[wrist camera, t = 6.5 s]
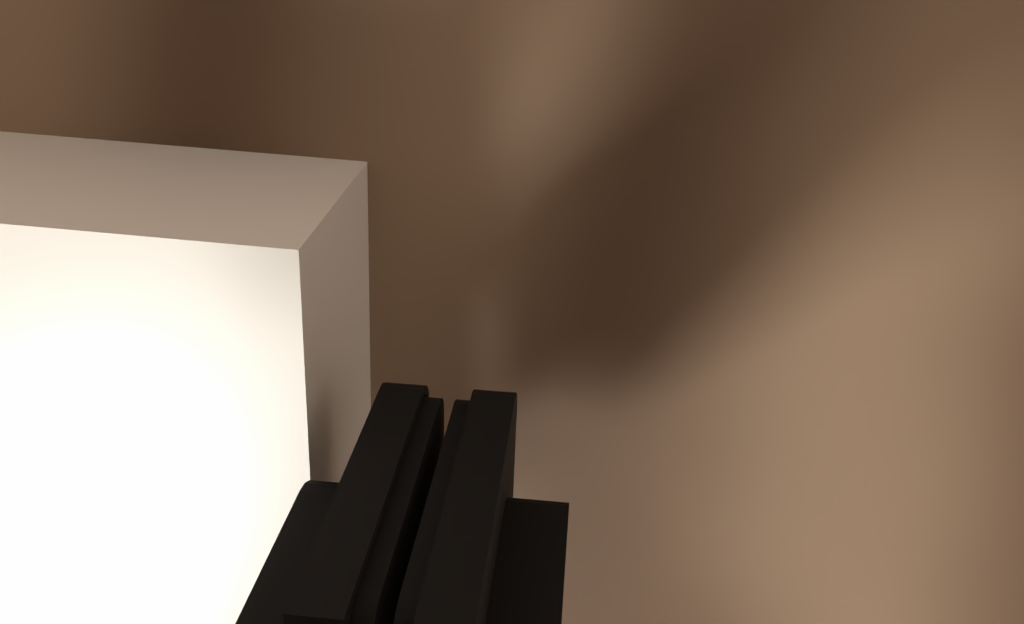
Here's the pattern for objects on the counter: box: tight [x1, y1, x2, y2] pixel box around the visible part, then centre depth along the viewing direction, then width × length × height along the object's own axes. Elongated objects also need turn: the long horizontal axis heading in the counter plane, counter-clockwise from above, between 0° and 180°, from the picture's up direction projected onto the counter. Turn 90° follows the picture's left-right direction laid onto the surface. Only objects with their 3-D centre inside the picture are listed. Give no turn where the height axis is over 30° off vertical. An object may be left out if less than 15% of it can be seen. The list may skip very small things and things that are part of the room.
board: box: [0, 0, 1024, 624], centre depth 14 cm, size 30×16×1 cm, turn 88°
